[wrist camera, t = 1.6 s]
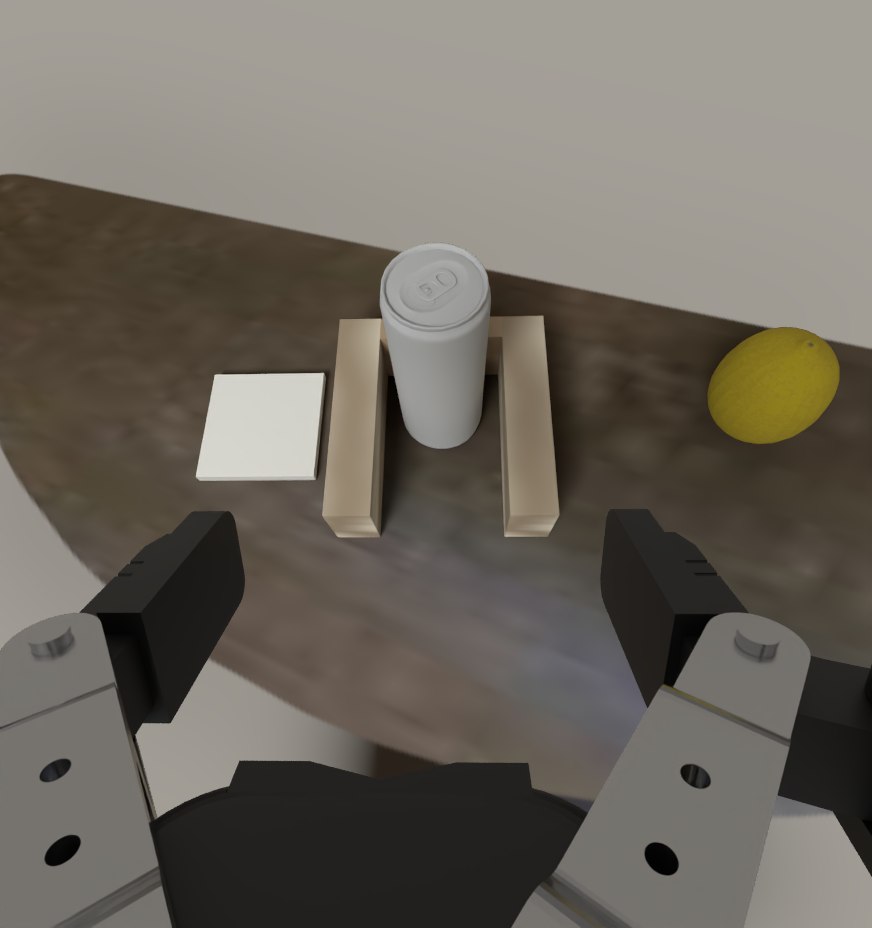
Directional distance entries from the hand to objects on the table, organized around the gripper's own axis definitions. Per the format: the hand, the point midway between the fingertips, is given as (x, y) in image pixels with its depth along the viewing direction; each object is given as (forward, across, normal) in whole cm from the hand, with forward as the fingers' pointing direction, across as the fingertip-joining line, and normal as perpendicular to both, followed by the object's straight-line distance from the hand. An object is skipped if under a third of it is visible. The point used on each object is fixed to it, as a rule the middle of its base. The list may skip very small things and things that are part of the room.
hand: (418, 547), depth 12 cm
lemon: (+22, -18, +5) cm, 29 cm away
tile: (+22, +11, +4) cm, 25 cm away
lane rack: (+21, 0, +5) cm, 22 cm away
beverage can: (+23, 0, +4) cm, 23 cm away
